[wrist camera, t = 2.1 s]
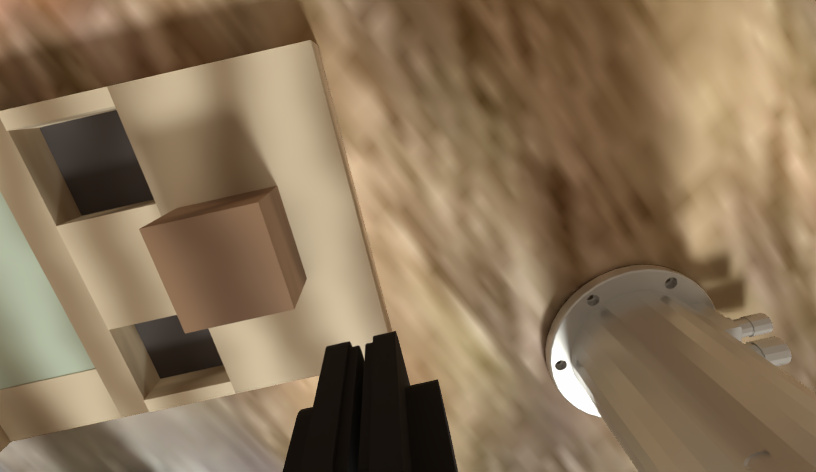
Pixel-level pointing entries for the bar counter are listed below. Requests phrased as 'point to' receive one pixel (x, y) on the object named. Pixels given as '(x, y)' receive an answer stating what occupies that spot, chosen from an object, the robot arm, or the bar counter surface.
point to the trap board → (127, 252)
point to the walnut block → (227, 259)
